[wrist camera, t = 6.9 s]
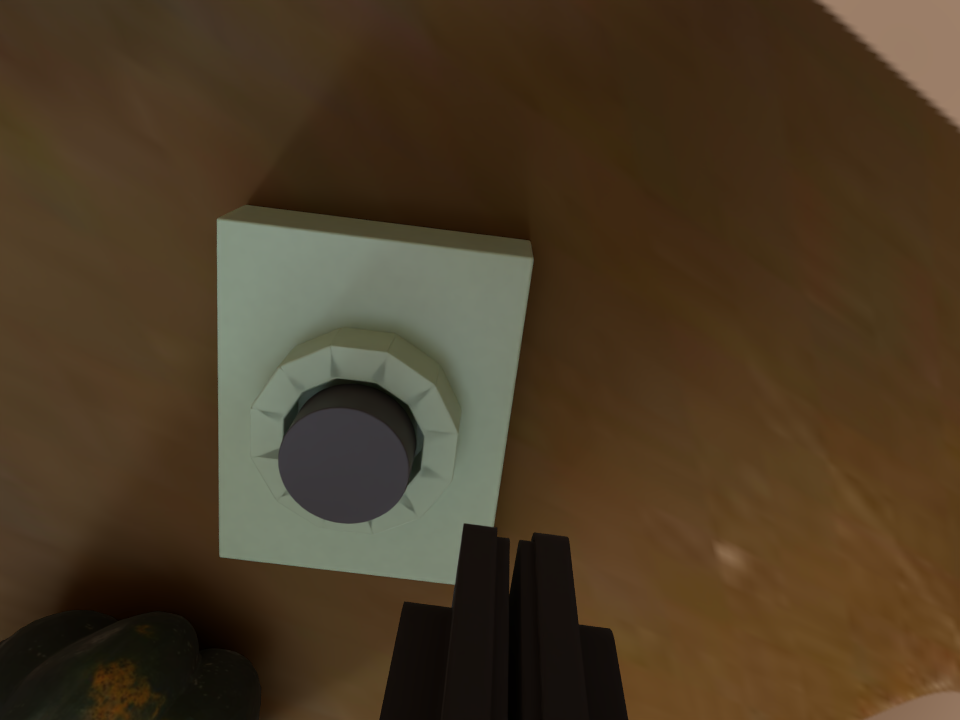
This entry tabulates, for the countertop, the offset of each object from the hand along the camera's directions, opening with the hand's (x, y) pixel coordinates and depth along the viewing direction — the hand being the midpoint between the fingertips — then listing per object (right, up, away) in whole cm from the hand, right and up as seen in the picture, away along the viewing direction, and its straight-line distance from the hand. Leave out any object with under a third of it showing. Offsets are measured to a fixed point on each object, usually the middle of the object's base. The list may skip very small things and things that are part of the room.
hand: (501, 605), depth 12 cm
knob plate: (-5, +3, +19) cm, 20 cm away
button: (-5, +1, +15) cm, 15 cm away
